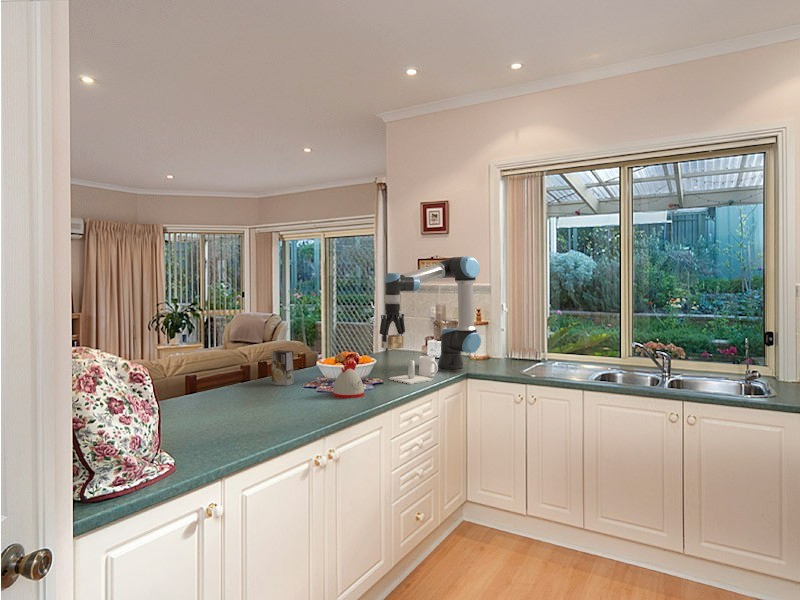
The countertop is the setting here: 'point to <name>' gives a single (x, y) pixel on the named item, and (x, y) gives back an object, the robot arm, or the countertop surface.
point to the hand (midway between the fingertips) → (392, 347)
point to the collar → (394, 342)
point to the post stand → (411, 375)
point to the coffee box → (282, 367)
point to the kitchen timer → (348, 383)
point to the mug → (427, 366)
